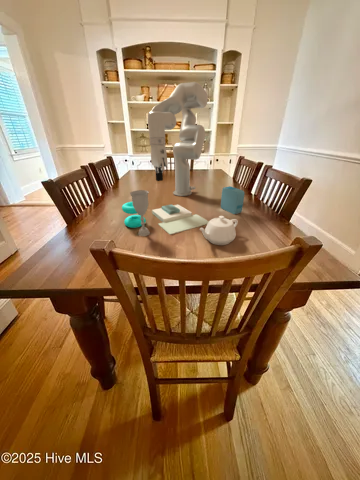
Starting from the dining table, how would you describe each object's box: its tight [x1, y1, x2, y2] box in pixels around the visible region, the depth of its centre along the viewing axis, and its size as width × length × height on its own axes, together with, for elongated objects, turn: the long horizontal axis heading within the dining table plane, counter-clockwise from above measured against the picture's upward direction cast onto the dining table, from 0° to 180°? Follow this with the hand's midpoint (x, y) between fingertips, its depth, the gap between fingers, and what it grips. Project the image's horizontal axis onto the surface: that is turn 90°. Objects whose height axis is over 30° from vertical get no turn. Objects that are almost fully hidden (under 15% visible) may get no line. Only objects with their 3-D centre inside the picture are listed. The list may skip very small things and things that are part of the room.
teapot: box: [199, 215, 239, 246], centre depth 79 cm, size 20×12×10 cm, turn 123°
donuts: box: [121, 201, 147, 229], centre depth 92 cm, size 10×10×10 cm
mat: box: [157, 213, 210, 236], centre depth 94 cm, size 22×12×1 cm, turn 120°
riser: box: [151, 204, 193, 223], centre depth 104 cm, size 16×14×2 cm
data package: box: [220, 185, 245, 215], centre depth 105 cm, size 12×4×12 cm, turn 30°
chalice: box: [129, 189, 151, 237], centre depth 82 cm, size 7×7×18 cm
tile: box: [160, 203, 180, 215], centre depth 104 cm, size 6×9×2 cm, turn 30°
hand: (159, 180), depth 105 cm, fingers closed
